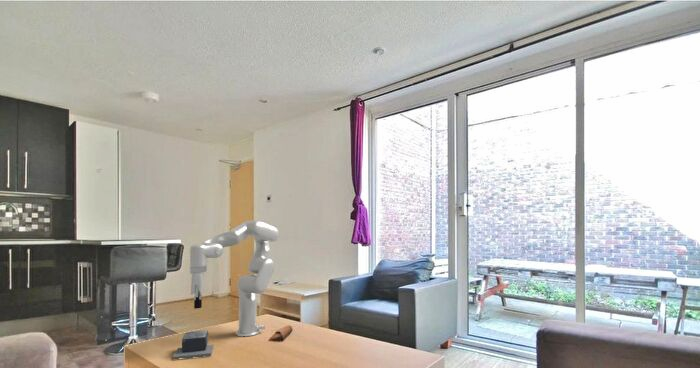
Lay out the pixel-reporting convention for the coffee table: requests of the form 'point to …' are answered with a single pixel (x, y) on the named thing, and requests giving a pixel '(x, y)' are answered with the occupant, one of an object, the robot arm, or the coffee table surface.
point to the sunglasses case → (281, 334)
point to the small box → (195, 341)
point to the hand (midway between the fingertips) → (197, 307)
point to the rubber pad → (193, 353)
